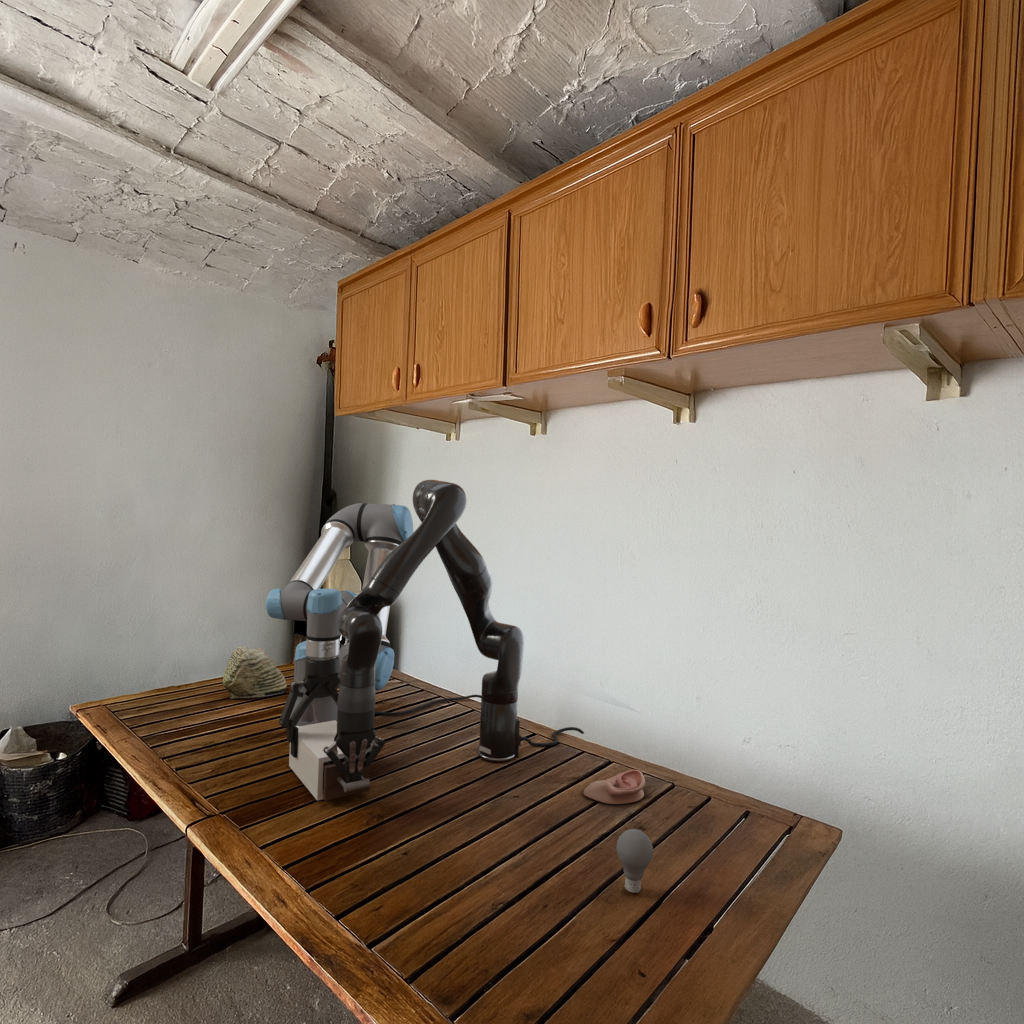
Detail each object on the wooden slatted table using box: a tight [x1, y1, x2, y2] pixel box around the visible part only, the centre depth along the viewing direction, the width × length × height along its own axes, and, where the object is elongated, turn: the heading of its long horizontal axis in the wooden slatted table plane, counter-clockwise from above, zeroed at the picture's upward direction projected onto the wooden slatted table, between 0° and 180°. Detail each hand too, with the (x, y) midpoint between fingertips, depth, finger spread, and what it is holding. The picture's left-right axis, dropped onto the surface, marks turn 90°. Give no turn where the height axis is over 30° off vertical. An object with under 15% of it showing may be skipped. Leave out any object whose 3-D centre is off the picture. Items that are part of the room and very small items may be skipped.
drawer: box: [323, 758, 371, 802], centre depth 138 cm, size 24×10×7 cm, turn 36°
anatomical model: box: [582, 769, 646, 805], centre depth 141 cm, size 13×4×12 cm
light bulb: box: [615, 828, 654, 894], centre depth 106 cm, size 6×6×10 cm
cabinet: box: [288, 720, 369, 802], centre depth 143 cm, size 20×11×9 cm, turn 36°
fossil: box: [222, 646, 288, 699], centre depth 198 cm, size 9×18×15 cm, turn 132°
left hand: (318, 750), depth 147 cm, fingers closed on cabinet, 11 cm apart
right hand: (353, 788), depth 130 cm, fingers closed
